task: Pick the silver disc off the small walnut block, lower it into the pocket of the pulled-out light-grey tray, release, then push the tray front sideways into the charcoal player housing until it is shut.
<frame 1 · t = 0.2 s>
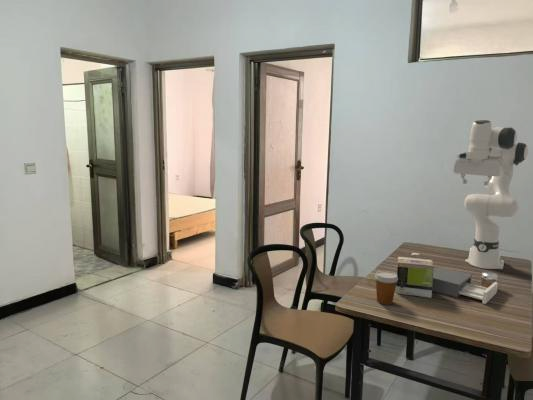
hand: (475, 184, 191), 47 cm above the table, fingers open, 8 cm apart
tray: (473, 288, 179), point 3 cm above the table, slide at 9.5 cm
housing: (447, 287, 187), on the table
tea box: (412, 292, 181), on the table
disposable coffee cup: (384, 301, 170), on the table
pedestal: (488, 288, 187), on the table
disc: (489, 278, 186), point 5 cm above the table, touching pedestal
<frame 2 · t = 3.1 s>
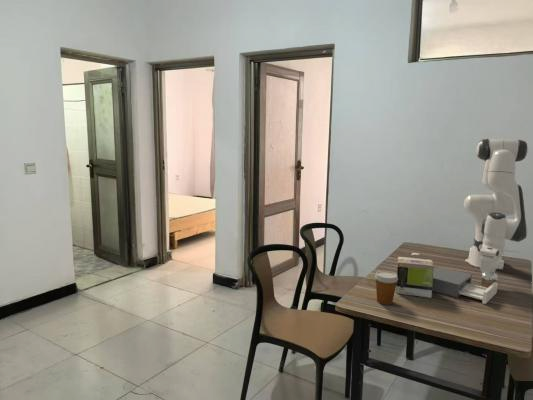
hand: (489, 277, 186), 5 cm above the table, fingers closed on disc, 6 cm apart
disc: (489, 278, 186), point 5 cm above the table, touching gripper, pedestal
everything else where it was.
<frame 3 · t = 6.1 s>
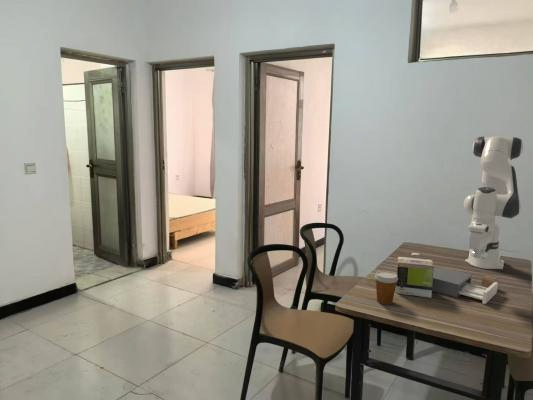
hand: (479, 255, 176), 18 cm above the table, fingers closed on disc, 6 cm apart
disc: (479, 256, 176), point 18 cm above the table, touching gripper
everything else where it was.
when the fingers open (4 cm above the table, at t = 9.1 s): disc drops 1 cm, resting on tray.
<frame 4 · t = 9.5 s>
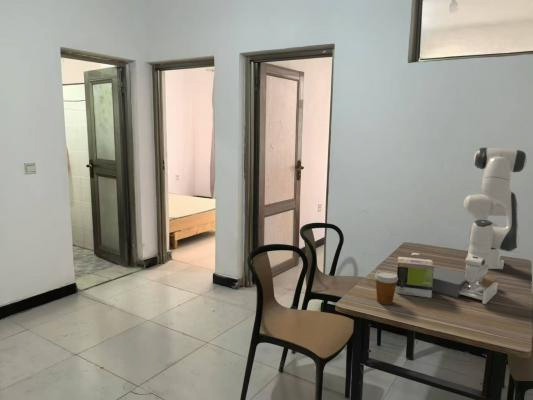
hand: (475, 287, 179), 4 cm above the table, fingers open, 8 cm apart
tray: (473, 288, 179), point 3 cm above the table, slide at 9.5 cm, touching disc
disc: (475, 290, 179), point 2 cm above the table, touching tray
everything else where it was.
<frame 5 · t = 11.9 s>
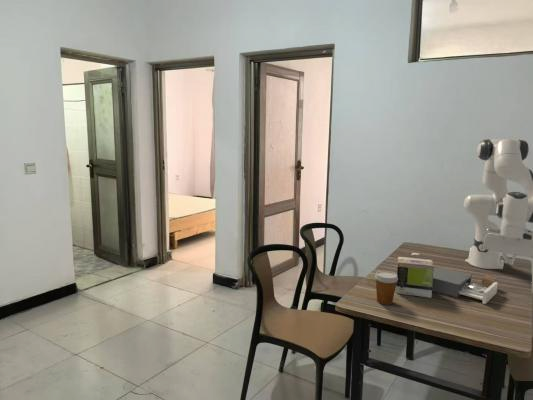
hand: (508, 263, 168), 17 cm above the table, fingers closed
nothing on the table moved.
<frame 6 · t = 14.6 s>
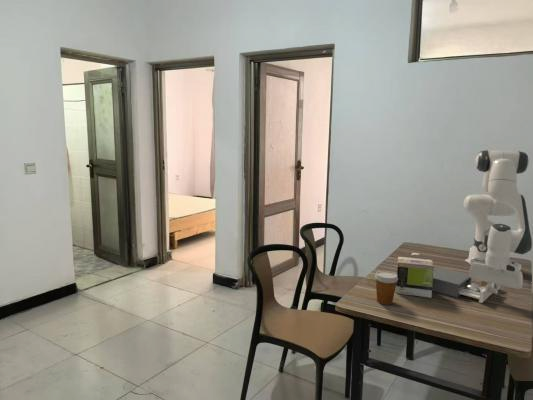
hand: (493, 292, 174), 3 cm above the table, fingers closed
tray: (470, 287, 180), point 3 cm above the table, slide at 8.2 cm, touching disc, gripper
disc: (472, 289, 180), point 2 cm above the table, touching tray
everything else where it was.
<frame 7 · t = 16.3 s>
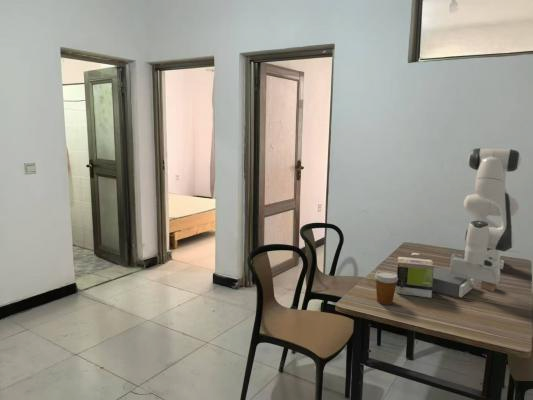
hand: (472, 287, 180), 3 cm above the table, fingers closed
tray: (451, 282, 186), point 3 cm above the table, slide at 0.0 cm, touching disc, gripper
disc: (453, 284, 185), point 2 cm above the table, touching tray
everything else where it was.
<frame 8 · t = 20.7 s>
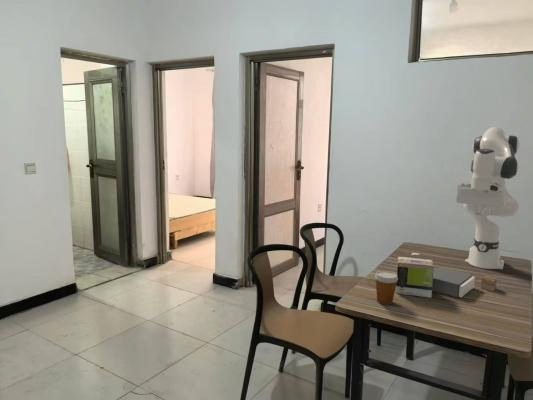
hand: (478, 215, 185), 34 cm above the table, fingers closed
tray: (451, 282, 186), point 3 cm above the table, slide at 0.0 cm, touching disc
everything else where it was.
at the end: tray slide at 0.0 cm; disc inside the target area on the housing (2.5 cm from its centre), point 2.1 cm above the housing's base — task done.
